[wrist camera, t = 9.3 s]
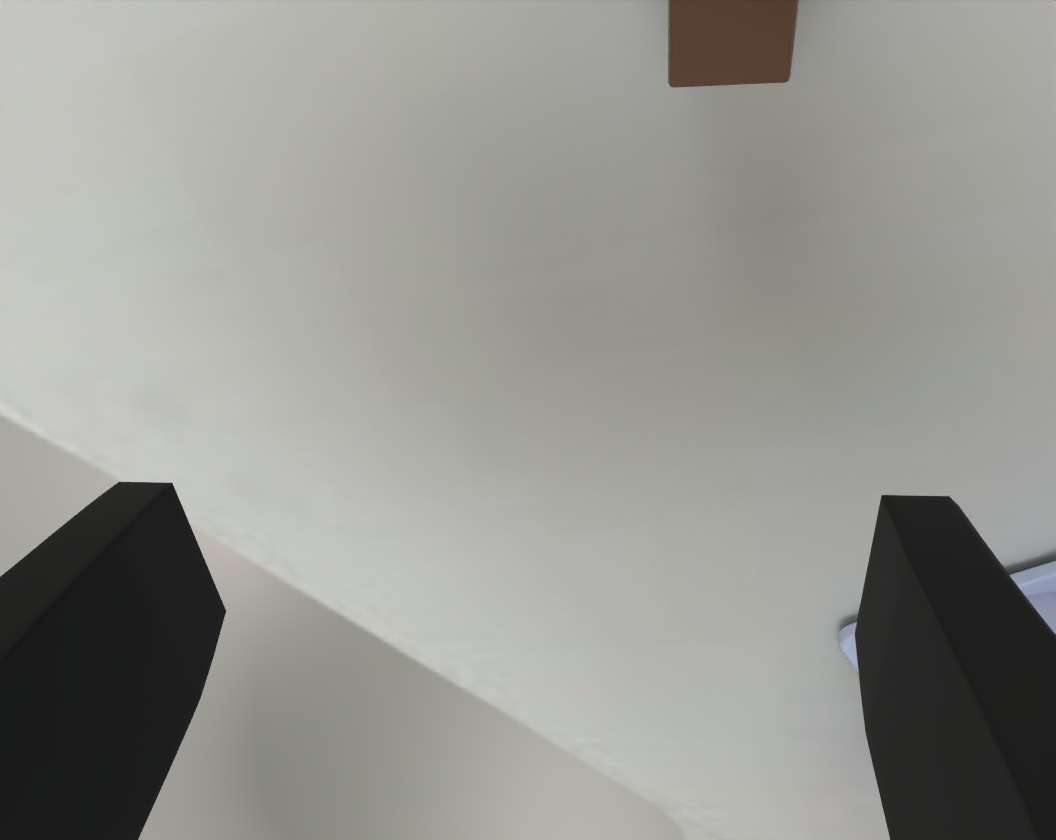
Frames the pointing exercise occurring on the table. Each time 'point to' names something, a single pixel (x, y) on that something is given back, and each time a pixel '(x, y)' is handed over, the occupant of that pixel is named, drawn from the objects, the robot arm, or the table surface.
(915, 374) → the table surface
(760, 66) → the fork
